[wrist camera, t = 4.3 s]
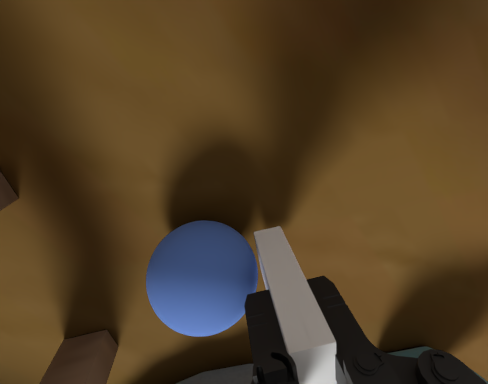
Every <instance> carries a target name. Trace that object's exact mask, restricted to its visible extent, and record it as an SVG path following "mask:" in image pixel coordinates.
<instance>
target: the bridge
mask: <svg viewBox="0 0 488 384" xmlns="http://www.w3.org/2000/svg"><path fill="white" fill-rule="evenodd" d="M17 199H19V198H18V197H17V195H16V194H15V192H14V191H13V189H12V188H11V186H10V185H9V183H8V182H7V180H6V179H5V177H4V176H3V174H2V173H1V171H0V210H2V209H3V208H5V207H6V206H8V205H10V204H11V203H13V202H14V201H16V200H17ZM117 350H118V346H117V344H116V343H115V341H114V340H113V338H112V337H111V335H110V334H109V332H108V331H107V330H103V331H99V332H95V333H90V334H86V335H82V336H78V337H74V338H69V339H65V340H63V342H62V344H61V345H60V347H59V349H58V351H57V353H56V355H55V356H54V358H53V360H52V362H51V364H50V365H49V367H48V369H47V371H46V373H45V375H44V376H43V378H42V380H41V382H40V384H106V383H107V380H108V377H109V374H110V371H111V368H112V365H113V362H114V359H115V356H116V353H117Z"/></svg>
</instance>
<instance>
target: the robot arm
mask: <svg viewBox="0 0 488 384" xmlns="http://www.w3.org/2000/svg"><path fill="white" fill-rule="evenodd" d="M254 237H255V242H256V248H257V253H258V258H259V263H260V268H261V272H262V276H263V280H264V283H265V287H266V290H264V291H260V292H256V293H251V294H247V297H246V301H245V304H244V307H245V313H246V320H247V326H248V332H249V339H250V345H251V351H252V357H253V364H254V365H253V376H252V377H253V379H252V382H251V384H487V383H486V382H485V381H484V380H483V379H481V378H480V377H479V376H478V375H477V374H476V373H474V372H473V371H472V370H471V369H470V368H468V367H467V366H466V365H465V364H464V363H463V362H461V361H460V360H459V359H457V358H456V357H454V356H453V355H451V354H449V353H446V352H444V351H441V350H434V349H429V350H426V351H423V352H422V353H421V354H420V356H419V357H418V358H414V357H404V356H396V355H391V354H388V353H385V352H383V351H381V350H380V349H378V348H376V347H375V346H374V345H373V344H372V343H371V342H370V341H369V340H368V339H367V337H366V336H365V334H364V333H363V331H362V329H361V328H360V326H359V324H358V323H357V321H356V319H355V318H354V316H353V314H352V313H351V311H350V310H349V308H348V306H347V305H346V304H345V301H344V300H343V298H342V296H340V293H339V291H338V290H337V288H336V287H335V285H334V283H333V282H331V281H330V280H329V279H327V278H326V277H325V276H320V277H316V278H312V279H308V280H306V278H305V276H304V274H303V272H302V270H301V268H300V266H299V264H298V262H297V260H296V258H295V256H294V254H293V252H292V249H291V247H290V245H289V243H288V241H287V239H286V237H285V235H284V233H283V231H282V229H281V227H280V226H278V227H273V228H269V229H265V230H260V231H256V232H254Z"/></svg>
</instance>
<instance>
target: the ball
mask: <svg viewBox="0 0 488 384" xmlns="http://www.w3.org/2000/svg"><path fill="white" fill-rule="evenodd" d="M257 281H258V269H257V263H256V259H255V256H254V253H253V251H252V249H251V247H250V246H249V244H248V242H247V241H246V240H245V239H244V237H243V236H242V235H241V234H240V233H238V232H237V231H236V230H234V229H233V228H231V227H229V226H228V225H225V224H223V223H220V222H216V221H207V220H202V221H194V222H190V223H187V224H184V225H182V226H180V227H178V228H176V229H175V230H173V231H172V232H170V233H169V234H168V235H167V236H166V237H165V238H164V239H163V240H162V241H161V242H160V243H159V245H158V246H157V247H156V249H155V251H154V253H153V254H152V257H151V259H150V262H149V265H148V269H147V275H146V288H147V294H148V298H149V301H150V304H151V306H152V308H153V310H154V311H155V313H156V315H157V316H158V317H159V318H160V319H161V321H162V322H163V323H165V324H166V325H167V326H168V327H169V328H171V329H173V330H175V331H176V332H179V333H181V334H184V335H188V336H210V335H214V334H217V333H220V332H222V331H224V330H226V329H228V328H229V327H231V326H232V325H234V324H235V323H236V322H237V321H238V320H240V318H241V317H242V316H243V315H244V314H245V307H244V304H245V301H246V297H247V294H251V293H255V292H256V288H257Z"/></svg>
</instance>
